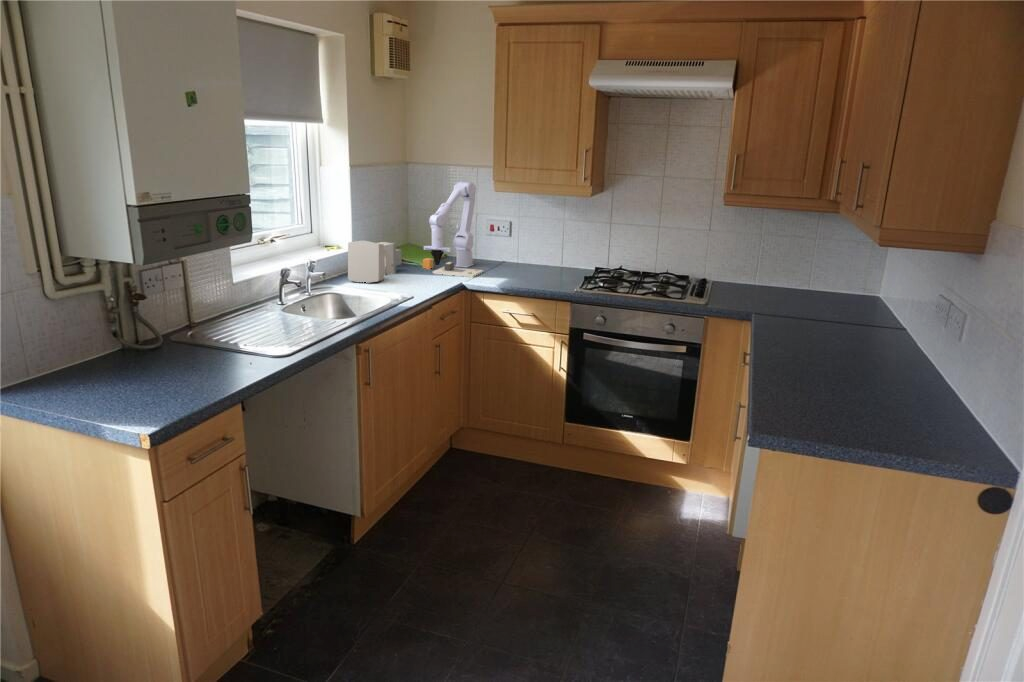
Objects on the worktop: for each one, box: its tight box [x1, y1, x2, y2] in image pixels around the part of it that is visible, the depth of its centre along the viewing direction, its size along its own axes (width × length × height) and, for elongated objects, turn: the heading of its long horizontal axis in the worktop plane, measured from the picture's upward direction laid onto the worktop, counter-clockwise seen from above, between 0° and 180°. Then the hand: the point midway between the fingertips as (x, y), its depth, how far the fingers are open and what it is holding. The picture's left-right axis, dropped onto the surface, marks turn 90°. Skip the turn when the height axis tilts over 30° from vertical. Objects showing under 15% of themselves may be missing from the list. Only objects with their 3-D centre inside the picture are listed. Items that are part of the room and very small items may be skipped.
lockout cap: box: [422, 257, 434, 270], centre depth 356 cm, size 4×4×5 cm
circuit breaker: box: [379, 241, 403, 276], centre depth 342 cm, size 8×14×15 cm, turn 148°
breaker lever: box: [444, 261, 455, 270], centre depth 348 cm, size 5×3×3 cm, turn 161°
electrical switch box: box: [347, 239, 385, 284], centre depth 325 cm, size 15×15×20 cm
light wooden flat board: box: [432, 265, 484, 278], centre depth 347 cm, size 14×22×2 cm, turn 70°
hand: (437, 264), depth 350 cm, fingers closed
